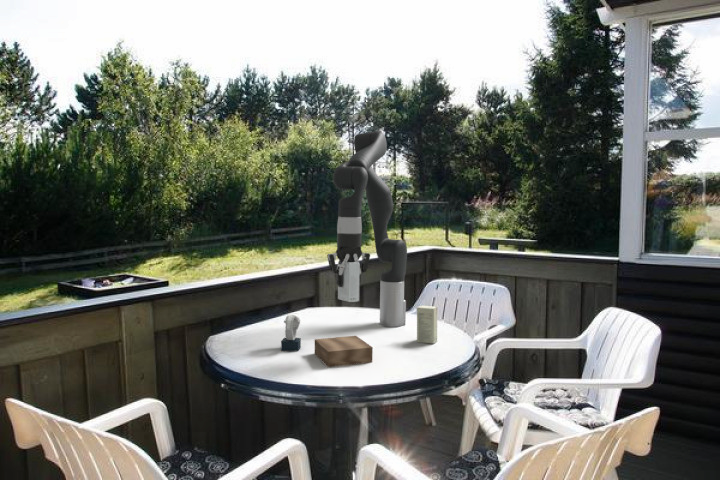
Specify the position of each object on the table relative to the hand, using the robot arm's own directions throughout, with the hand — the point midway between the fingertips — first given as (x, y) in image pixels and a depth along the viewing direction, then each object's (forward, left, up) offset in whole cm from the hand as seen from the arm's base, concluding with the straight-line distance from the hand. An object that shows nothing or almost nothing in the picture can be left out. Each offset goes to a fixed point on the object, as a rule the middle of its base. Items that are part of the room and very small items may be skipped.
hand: (348, 286), depth 166 cm
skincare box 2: (-32, -4, -22) cm, 39 cm away
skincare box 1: (0, 0, -5) cm, 5 cm away
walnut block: (+2, +2, -22) cm, 23 cm away
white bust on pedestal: (+14, -13, -22) cm, 30 cm away
